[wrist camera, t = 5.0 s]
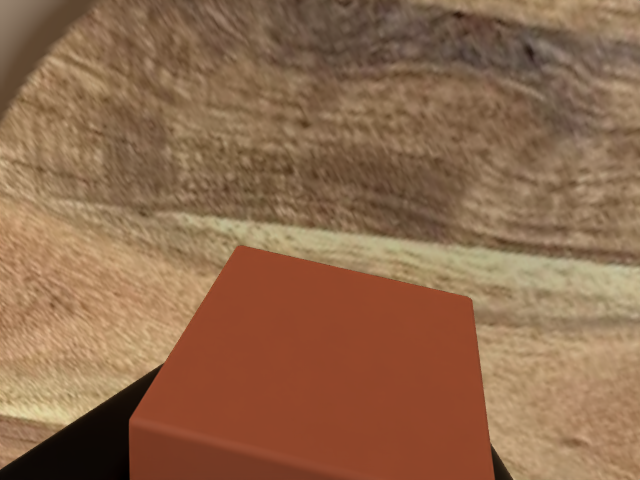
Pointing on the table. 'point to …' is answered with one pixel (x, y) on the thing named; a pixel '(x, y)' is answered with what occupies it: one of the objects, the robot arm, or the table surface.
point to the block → (316, 381)
